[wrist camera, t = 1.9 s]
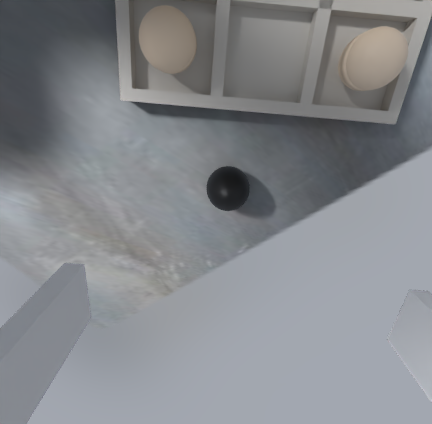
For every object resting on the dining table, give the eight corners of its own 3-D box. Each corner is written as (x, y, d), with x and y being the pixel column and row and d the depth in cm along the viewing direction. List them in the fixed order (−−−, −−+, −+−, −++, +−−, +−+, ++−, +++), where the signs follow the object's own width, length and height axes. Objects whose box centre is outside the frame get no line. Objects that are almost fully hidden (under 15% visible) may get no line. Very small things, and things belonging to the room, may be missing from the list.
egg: (242, 158, 26) (247, 170, 21) (250, 196, 27) (257, 214, 23) (202, 168, 26) (199, 182, 22) (213, 205, 28) (212, 225, 23)
